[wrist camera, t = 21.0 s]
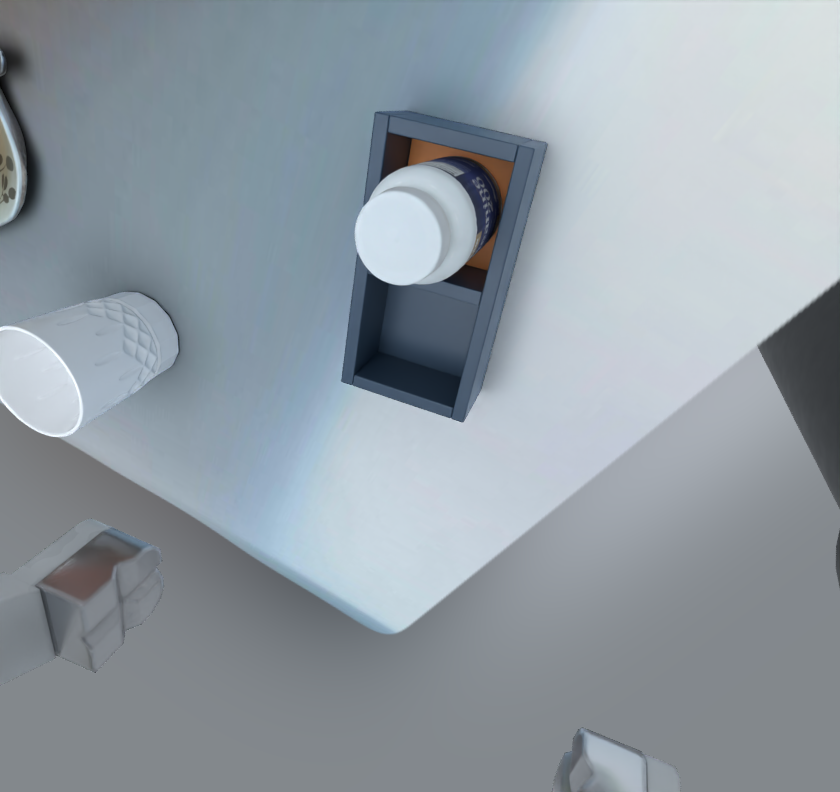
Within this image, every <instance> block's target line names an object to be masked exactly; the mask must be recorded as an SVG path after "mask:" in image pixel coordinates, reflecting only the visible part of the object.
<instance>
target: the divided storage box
mask: <svg viewBox="0 0 840 792" xmlns="http://www.w3.org/2000/svg"><path fill="white" fill-rule="evenodd" d="M546 148H547V143H546V142H541V141H537V140H533V139H528V138H524V137H520V136H515V135H511V134H506V133H502V132H498V131H493V130H489V129H485V128H480V127H476V126H472V125H467V124H463V123H458V122H454V121H450V120H445V119H441V118H437V117H432V116H428V115H424V114H419V113H415V112H410V111H384V112H375V117H374V125H373V133H372V141H371V149H370V157H369V164H368V172H367V180H366V188H365V196H364V204H363V207H364V205H365V204H366V203H367V202H368V201H369V199H370V197H371V195H372V193H373V191H374V190H375V188H376V187H377V186H378V184H379V183H380V182H381V181H382V180H383V179H384V178H386V177H387V176H388V175H390V174H391V173H393V172H395V171H397V170H399V169H401V168H404V167H407V166H411V165H415V164H419V163H423V162H426V161H430V160H434V159H437V158H442V157H449V156H462V157H467V158H470V159H472V160H475V161H477V162H478V163H480V164H481V165H483V166H484V167H485V168H486V169H487V170H488V171H489V172H490V173H491V174H492V176H493V177H494V179H495V180H496V182H497V184H498V186H499V190H500V194H501V198H502V214H501V219H500V222H499V225H498V228H497V230H496V232H495V233H494V235H493V236H492V238H491V239H490V240H489V241H488V242H487V243H486V244H485V246H483V248H482V249H480V250H479V251H478V252H477V253H476V254H475V255H474V256H473V257H472V258H471V259H470V260H469V261H468V262H467V263H466V264H464V266H463V267H461V268H460V269H459V270H458V271H457V272H455V273H454V274H453V275H451V276H450V277H448V278H446V279H444V280H442V281H439V282H436V283H432V284H411V285H394V284H390V283H387V282H384V281H382V280H380V279H379V278H377V277H376V276H374V275H373V274H372V273H371V272H370V271H369V270H368V269H367V268H366V266H365V265H364V264H363V262H362V260H361V258H360V256H359V254H358V252H357V260H356V268H355V276H354V284H353V292H352V300H351V308H350V316H349V324H348V332H347V340H346V348H345V356H344V363H343V371H342V379H341V381H342V382H344V383H347V384H350V385H353V386H356V387H359V388H362V389H365V390H368V391H371V392H374V393H377V394H380V395H383V396H386V397H389V398H392V399H394V400H397V401H400V402H403V403H406V404H409V405H412V406H415V407H418V408H421V409H424V410H427V411H430V412H433V413H436V414H439V415H442V416H445V417H448V418H452V419H454V420H457V421H460V422H464V420H465V419H466V417H467V415H468V413H469V411H470V409H471V407H472V406H473V404H474V402H475V400H476V398H477V396H478V394H479V393H480V391H481V388H482V384H483V380H484V377H485V373H486V369H487V366H488V362H489V358H490V355H491V351H492V347H493V344H494V340H495V336H496V332H497V329H498V325H499V321H500V318H501V314H502V310H503V307H504V303H505V299H506V296H507V292H508V288H509V285H510V281H511V277H512V273H513V270H514V266H515V262H516V259H517V255H518V251H519V248H520V244H521V240H522V237H523V233H524V229H525V225H526V222H527V218H528V214H529V211H530V207H531V203H532V200H533V196H534V192H535V189H536V185H537V181H538V177H539V174H540V170H541V166H542V163H543V159H544V155H545V152H546Z"/></svg>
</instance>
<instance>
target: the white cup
mask: <svg viewBox="0 0 840 792" xmlns="http://www.w3.org/2000/svg"><path fill="white" fill-rule="evenodd" d="M178 352H179V349H178V335H177V332H176V330H175V328H174V326H173V324H172V321H171V319H170V317H169V316H168V315H167V313H166V312H165V311H164V310H163V309H162V308H161V307H160V306H159V305H158V304H157V302H156V301H154V300H152V299H150V298H148V297H147V296H145V295H143V294H141V293H139V292H120V293H117V294H114V295H111V296H108V297H105V298H101V299H96V300H91V301H86V302H83V303H80V304H77V305H72V306H68V307H65V308H61V309H58V310H55V311H51V312H48V313H45V314H41V315H38V316H35V317H32V318H28V319H25V320H22V321H18V322H15V323H12V324H8V325H5V326H1V327H0V399H1V401H2V402H3V403H4V404H5V406H6V407H7V408H8V409H9V410H10V411H11V412H12V413H13V414H14V415H15V416H16V417H17V418H18V419H19V420H20V421H22V422H23V423H24V424H26V425H27V426H29V427H30V428H32V429H34V430H35V431H37V432H39V433H42V434H44V435H48V436H52V437H65V436H68V435H71V434H72V433H74V432H76V431H77V430H79V429H80V428H82V427H83V426H85V425H86V424H88V423H89V422H91V421H92V420H94V419H95V418H97V417H98V416H100V415H101V414H103V413H105V412H106V411H108V410H109V409H111V408H112V407H114V406H115V405H117V404H118V403H120V402H121V401H123V400H125V399H126V398H128V397H129V396H131V395H132V394H133V393H135V392H136V391H138V390H139V389H140V388H141V387H143V386H145V385H146V384H147V383H148V382H149V381H150V380H151V379H153V378H154V377H155V376H157V375H159V374H160V373H162V372H163V371H165V370H166V369H168V368H170V367H171V366H172V365H173V364H174V361H175V359H176V357H177V355H178Z"/></svg>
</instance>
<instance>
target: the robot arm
mask: <svg viewBox="0 0 840 792" xmlns="http://www.w3.org/2000/svg"><path fill="white" fill-rule="evenodd" d="M161 562H162V557H161V549H160V548H157V547H155V546H153V545H151V544H148V543H146V542H144V541H141V540H139V539H137V538H135V537H133V536H130V535H128V534H126V533H124V532H121V531H119V530H117V529H115V528H113V527H111V526H108V525H106V524H104V523H101V522H99V521H96V520H94V519H92V518H91V519H88V520H86V521H82V522H80V523H79V524H77V525H76V526H75V527H73V528H72V529H71V530H69V531H68V532H67V533H65V534H64V535H63V536H61V537H60V538H59V539H57V540H56V541H55V542H53V543H52V544H51V545H49V546H48V547H47V548H45V549H44V550H43V551H41V552H40V553H39V554H37V555H36V556H34V557H33V558H32V559H30V560H29V561H28V562H26V563H25V564H24V565H22V566H21V567H20V568H18V569H17V570H16V571H14V572H13V573H12V574H10V575H9V574H7V573H4V572H2V573H0V685H2V684H5V683H7V682H9V681H11V680H13V679H15V678H17V677H19V676H21V675H23V674H25V673H27V672H29V671H31V670H33V669H35V668H37V667H39V666H41V665H43V664H45V663H47V662H49V661H52V660H53V659H55V658H56V656H59V657H61V658H63V659H65V660H68V661H70V662H72V663H74V664H76V665H79V666H81V667H83V668H85V669H88V670H90V671H92V672H94V673H96V672H97V671H98V669H100V668H101V666H102V665H103V664H104V663H105V662H106V661H107V660H108V659H109V658H110V657H111V656H112V655H113V654H114V653H115V652H116V651H117V650H118V649H119V648H120V647H121V646H122V644H123V643H124V637H125V631H126V630H129V629H131V628H134V627H136V626H139V625H141V624H142V623H143V622H144V621H145V620H146V619H147V618H148V617H149V616H150V614H151V613H152V612H153V611H154V609H155V607H156V605H157V604H158V602H159V600H160V598H161V595H162V592H163V588H164V581H163V576H162V575H161V573H160V572H159V570H158V569H157V565H159V564H160V563H161ZM552 792H681V786H680V776H679V773H678V771H677V768H676V767H674V766H673V765H671V764H669V763H666V762H663V761H661V760H659V759H656V758H654V757H651V756H649V755H646V754H643V753H642V752H641V751H639V750H637V749H634V748H632V747H629V746H627V745H624V744H622V743H620V742H617V741H615V740H612V739H610V738H607V737H605V736H602V735H600V734H597V733H595V732H593V731H590V730H588V729H585V728H583V727H582V728H580V729H578V731H577V733H576V734H575V736H574V738H573V746H572V751H570V752H566V753H565V754H564V756H563V758H562V760H561V761H560V763H559V766H558V769H557V773H556V776H555V779H554V783H553V788H552Z"/></svg>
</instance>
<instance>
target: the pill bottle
mask: <svg viewBox="0 0 840 792" xmlns="http://www.w3.org/2000/svg"><path fill="white" fill-rule="evenodd" d="M501 214H502V198H501V194H500V190H499V186H498V184H497V182H496V180H495V179H494V177H493V176H492V174H491V173H490V172H489V171H488V170H487V169H486V168H485V167H484V166H483V165H481V164H480V163H478V162H477V161H475V160H472V159H470V158H467V157H462V156H449V157H442V158H437V159H434V160H430V161H426V162H423V163H419V164H415V165H411V166H407V167H404V168H401V169H399V170H397V171H395V172H393V173H391V174H390V175H388V176H387V177H386V178H384V179H383V180H382V181H381V182H380V183H379V184H378V186H377V187H376V188H375V190H374V191H373V193H372V195H371V197H370V199H369V201H368V202H367V203H366V204H365V205H364V207H363V208H362V210H361V211H360V213H359V216H358V218H357V221H356V225H355V243H356V248H357V251H358V254H359V256H360V258H361V260H362V262H363V264H364V265H365V266H366V268H367V269H368V270H369V271H370V272H371V273H372V274H373V275H374V276H376V277H377V278H379V279H380V280H382V281H384V282H387V283H390V284H394V285H411V284H432V283H436V282H439V281H442V280H444V279H446V278H448V277H450V276H451V275H453V274H454V273H455V272H457V271H458V270H459V269H460V268H461V267H463V266H464V264H466V263H467V262H468V261H469V260H470V259H471V258H472V257H473V256H474V255H475V254H476V253H477V252H478V251H479V250H480V249H482V248H483V246H485V244H486V243H487V242H488V241H489V240H490V239H491V238H492V236H493V235H494V233H495V232H496V230H497V228H498V225H499V222H500V219H501Z"/></svg>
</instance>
